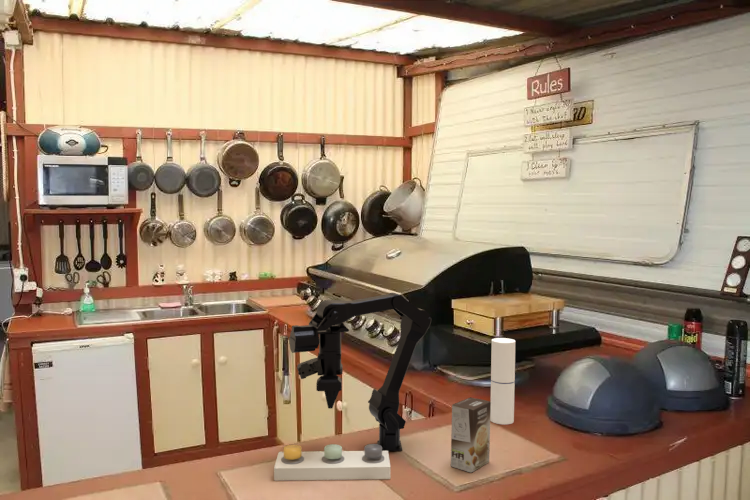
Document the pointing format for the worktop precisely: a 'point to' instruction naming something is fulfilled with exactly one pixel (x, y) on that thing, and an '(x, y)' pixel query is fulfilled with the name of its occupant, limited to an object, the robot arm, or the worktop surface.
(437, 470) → the worktop surface
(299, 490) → the worktop surface
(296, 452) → the button amber
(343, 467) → the button panel
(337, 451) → the button sage
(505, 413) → the cylindrical container
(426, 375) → the worktop surface
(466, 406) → the coffee box
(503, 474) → the worktop surface
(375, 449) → the button charcoal
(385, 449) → the robot arm
